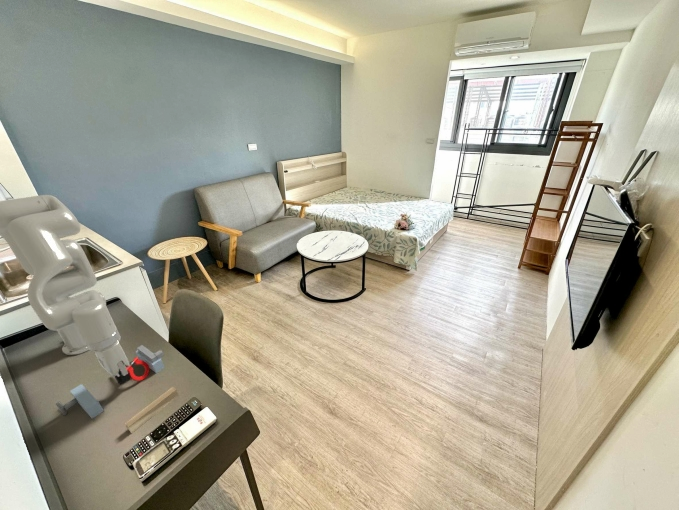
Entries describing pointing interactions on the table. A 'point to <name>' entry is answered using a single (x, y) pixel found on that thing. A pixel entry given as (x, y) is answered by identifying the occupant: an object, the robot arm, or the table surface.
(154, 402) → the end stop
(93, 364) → the table surface
